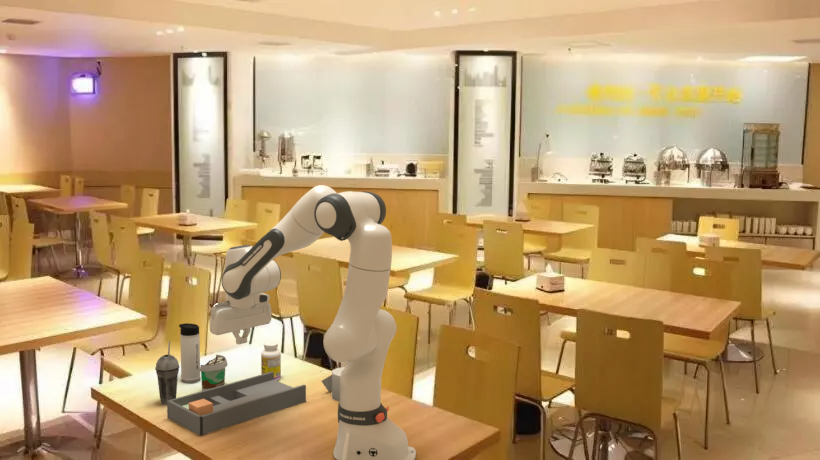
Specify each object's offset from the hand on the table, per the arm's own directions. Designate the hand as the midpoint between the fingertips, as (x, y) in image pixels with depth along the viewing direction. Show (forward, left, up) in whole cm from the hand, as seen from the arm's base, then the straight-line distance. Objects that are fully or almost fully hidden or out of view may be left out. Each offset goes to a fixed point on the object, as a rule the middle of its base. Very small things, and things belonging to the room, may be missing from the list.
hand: (241, 343), depth 231 cm
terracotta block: (+7, +12, -19) cm, 24 cm away
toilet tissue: (-23, -25, -23) cm, 41 cm away
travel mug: (+31, -20, -23) cm, 44 cm away
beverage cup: (+26, 0, -23) cm, 35 cm away
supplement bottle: (+6, -31, -23) cm, 39 cm away
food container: (+18, -16, -23) cm, 33 cm away
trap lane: (+3, -3, -22) cm, 23 cm away
